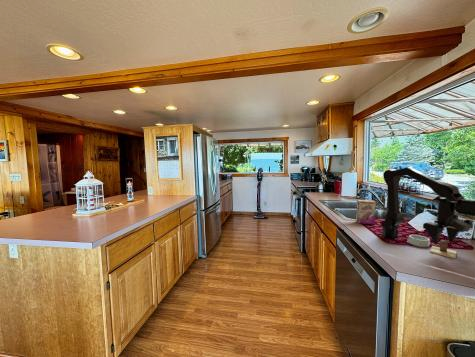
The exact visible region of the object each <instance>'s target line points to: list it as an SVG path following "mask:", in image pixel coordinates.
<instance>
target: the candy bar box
mask: <svg viewBox="0 0 475 357" xmlns="http://www.w3.org/2000/svg"><path fill="white" fill-rule="evenodd" d="M376 210H377V201H376V200H367V199H366V200H365V199H357V200H356V213H355V215H356V216H355V222H356V223H357V224H363V225H364V224H365V225H373V224H375V225H376Z"/></svg>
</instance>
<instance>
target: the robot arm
mask: <svg viewBox="0 0 475 357" xmlns="http://www.w3.org/2000/svg"><path fill="white" fill-rule="evenodd" d="M382 175H383V181H384V183H385V184H386V187H387V188H386V189H387V207H388V209H387V212H386V214H385V219H384V220H383V221H381V222H380V225H381V226H380V227H382V232H381V233H380V236H383V237H384V238H386V239H390V240H391V239H399V229H398V228H399V227H400V225H402V224H403V222H404V221H405V213H403V212H401V211H400V208H399V207H400V204H399V184H400V182H401V177H405V176H407V177H410V178H412V179H413V180H415V181H417V182H419V183H421V184H423V185H424V186H427V187H429V189H431V190H432V192H433V193H435V194H436V196H435V197H434V198H432V201H434V202H437V211H436V212H434V215H436V220H435V219H434V221H433V222H431V221H430V222H429V221H427V222H424V223H422V228H423V230H425V231H426V232H427V233H428V235H429V236H430V238H431V241H432V242H433V244H434V245H438V244H439V240H440V236H441V235H442V234H443V233H444V229H445V231H446V234H447V238H448V241H449V243H454V241H455V239H456V238H457V236H458V235H459V233H466V232H469V231H470V230H471V229H473V228H474V222H473V220H471V219H460V218H459V215H458V214H460V215H466V216H471V217H475V199H474V200H470V199H466V198H465V197H464V196H463V194H462V193H461V192H460V188H459V187H458V186H456V185H454V184H451V183H448V182H444V181H441V180H437V179H436V178H433V177H431V176H429V175H427V174H425V173H423V172H421V171H419V170H418V169H415V168H414V167H411V166H410V167H408V166H407V167H404V168H400V169H399V168H398V169H387V170H385V171H384V172H383V174H382ZM456 212H457V213H458V214H456Z"/></svg>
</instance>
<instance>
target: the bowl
mask: <svg viewBox="0 0 475 357" xmlns="http://www.w3.org/2000/svg"><path fill="white" fill-rule="evenodd" d="M407 238H408V240H407V242H408V243H409V244H410V245H412V246H416V247H420V248H429V247H430V245H431V239H430V238H429V237H426V236H425V235H419V234H409V235H408V237H407Z"/></svg>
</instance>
